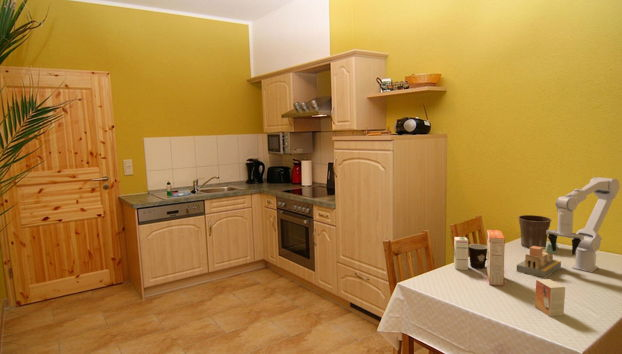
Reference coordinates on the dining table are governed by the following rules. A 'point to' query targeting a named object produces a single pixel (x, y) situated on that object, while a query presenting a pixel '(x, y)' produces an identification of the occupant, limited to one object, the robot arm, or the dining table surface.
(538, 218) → the plant pot
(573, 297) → the dining table surface
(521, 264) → the dock
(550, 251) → the green cube
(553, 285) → the small box
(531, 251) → the brick block
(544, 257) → the tan piece
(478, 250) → the coffee mug
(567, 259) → the dining table surface
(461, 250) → the syrup box
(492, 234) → the cracker box
